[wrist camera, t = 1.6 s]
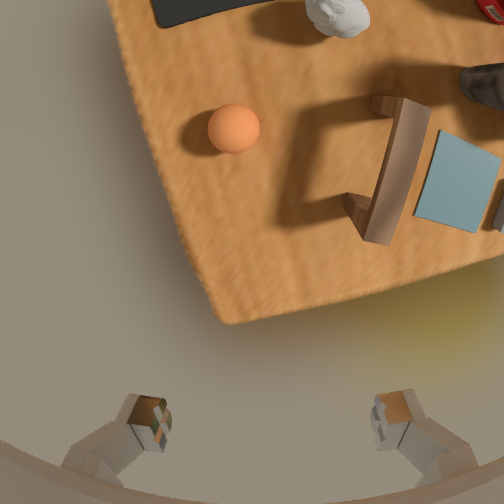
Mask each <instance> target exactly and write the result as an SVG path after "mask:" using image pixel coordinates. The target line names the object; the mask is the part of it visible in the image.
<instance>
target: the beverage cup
mask: <svg viewBox="0 0 504 504" xmlns="http://www.w3.org/2000/svg"><path fill="white" fill-rule="evenodd" d="M459 80H460V87H461V90H462V92H463V93H464V95H465V96H466V97H467V98H469V99H471V100H474V101H476V102H478V103H481V104H484V105H487V106H490V107H493V108H495V109H498V110H501V111H504V63H496V64H487V65H479V66H473V67H469V68H465V69H464V70H463V71H462V72H461V74H460V79H459Z"/></svg>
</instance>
